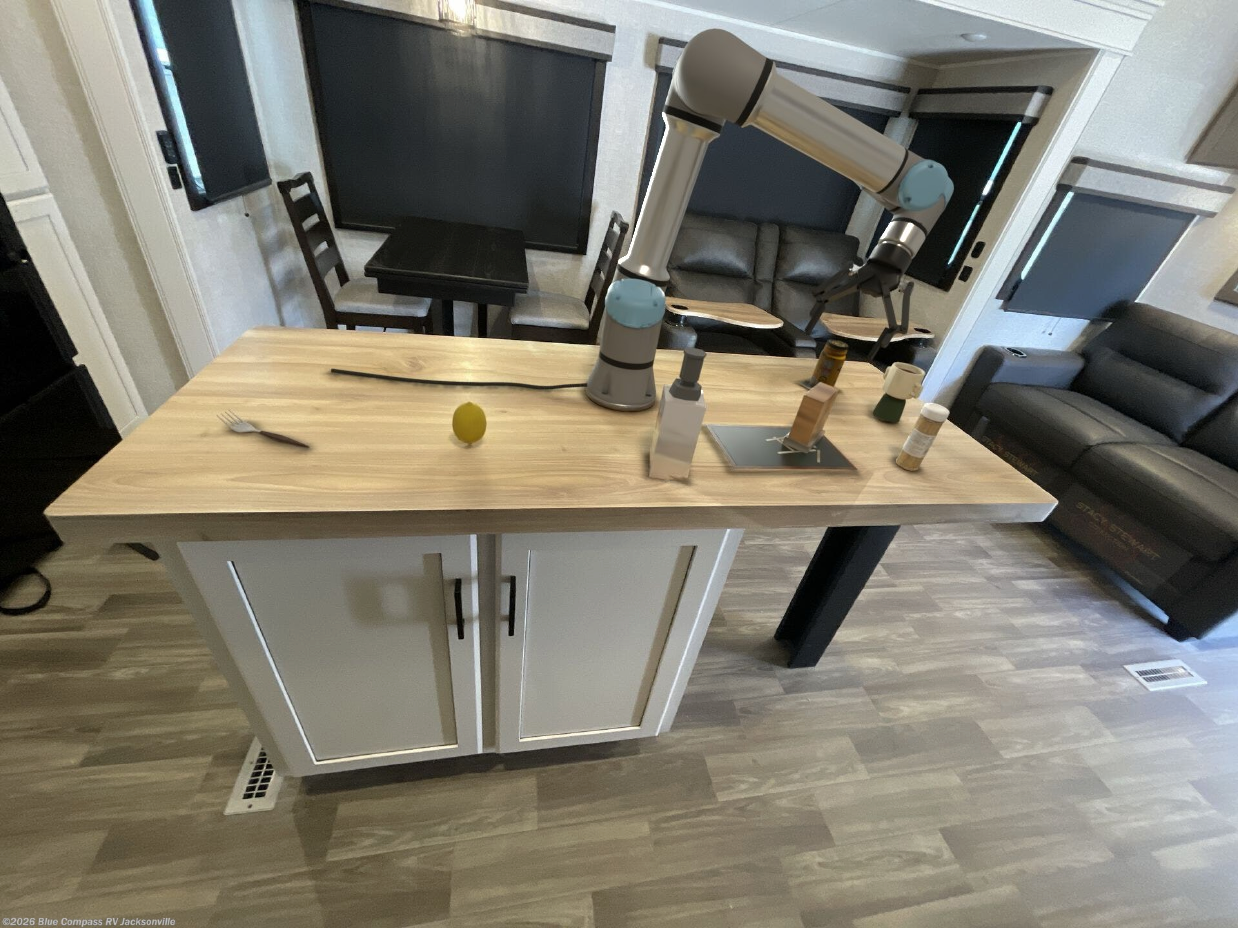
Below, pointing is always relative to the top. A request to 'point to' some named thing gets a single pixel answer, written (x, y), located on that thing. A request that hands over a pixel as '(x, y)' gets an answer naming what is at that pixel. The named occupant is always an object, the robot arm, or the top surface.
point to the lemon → (469, 422)
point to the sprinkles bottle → (922, 436)
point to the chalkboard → (773, 449)
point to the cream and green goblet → (898, 390)
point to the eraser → (811, 418)
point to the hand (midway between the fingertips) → (837, 345)
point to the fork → (248, 428)
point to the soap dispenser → (679, 420)
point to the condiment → (828, 364)
